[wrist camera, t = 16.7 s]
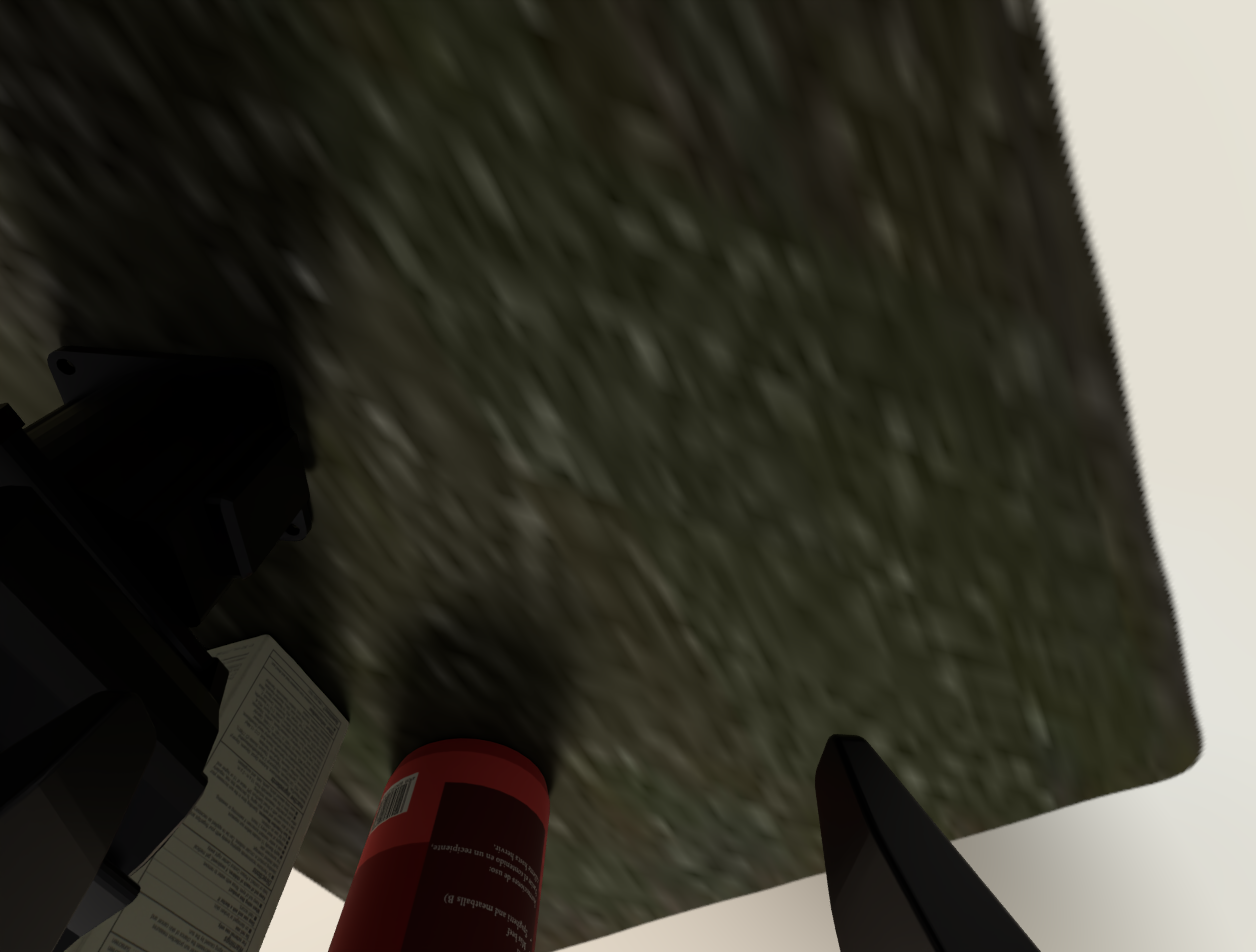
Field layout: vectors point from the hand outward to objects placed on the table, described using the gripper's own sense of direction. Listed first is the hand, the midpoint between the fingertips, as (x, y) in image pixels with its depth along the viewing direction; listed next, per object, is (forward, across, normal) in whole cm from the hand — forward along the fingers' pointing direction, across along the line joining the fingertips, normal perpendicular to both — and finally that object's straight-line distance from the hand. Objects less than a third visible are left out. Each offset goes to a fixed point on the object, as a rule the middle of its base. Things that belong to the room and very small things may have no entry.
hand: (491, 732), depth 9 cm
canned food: (+13, +4, +22) cm, 26 cm away
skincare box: (+13, +12, +16) cm, 24 cm away
